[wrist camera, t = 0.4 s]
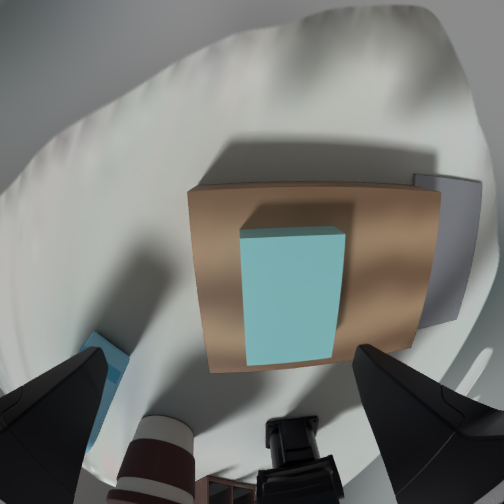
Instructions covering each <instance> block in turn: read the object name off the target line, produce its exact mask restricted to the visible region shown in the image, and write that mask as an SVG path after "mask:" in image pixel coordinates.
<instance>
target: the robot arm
mask: <svg viewBox="0 0 504 504" xmlns="http://www.w3.org/2000/svg"><path fill="white" fill-rule="evenodd" d="M352 367H353V371H354V375H355V379H356V383H357V386H358V390H359V394H360V398H361V402H362V405H363V407H364V410H365V413H366V415H367V418H368V420H369V423H370V426H371V428H372V431H373V434H374V436H375V439H376V442H377V444H378V447H379V450H380V453H381V456H382V458H383V461H384V464H385V467H386V470H387V472H388V476H389V479H390V481H391V484H392V487H393V491H394V494H395V496H396V500H397V503H398V504H504V411H502V410H497V409H494V408H492V407H489V406H487V405H484V404H482V403H479V402H477V401H475V400H472V399H470V398H468V397H465V396H463V395H461V394H459V393H457V392H455V391H453V390H451V389H449V388H447V387H446V386H444V385H441V384H440V383H438V382H436V381H434V380H433V379H431V378H429V377H427V376H425V375H424V374H422V373H420V372H418V371H416V370H415V369H413V368H411V367H409V366H408V365H406V364H404V363H402V362H400V361H399V360H397V359H395V358H393V357H392V356H390V355H388V354H386V353H385V352H383V351H381V350H379V349H378V348H376V347H374V346H372V345H371V344H368V343H367V344H360V345H358V346H357V348H356V351H355V355H354V359H353V363H352ZM107 374H108V363H107V360H106V357H105V354H104V352H103V349H102V348H101V347H97V346H90V347H88V348H87V349H85V350H83V351H81V352H80V353H78V354H76V355H74V356H73V357H71V358H69V359H68V360H66V361H64V362H62V363H61V364H59V365H57V366H55V367H54V368H52V369H50V370H48V371H47V372H45V373H43V374H42V375H40V376H38V377H36V378H35V379H33V380H31V381H29V382H28V383H26V384H24V385H23V386H21V387H19V388H17V389H15V390H14V391H12V392H10V393H8V394H6V395H4V396H2V397H1V398H0V504H73V501H74V497H75V495H74V494H75V491H76V487H77V483H78V479H79V474H80V470H81V467H82V463H83V459H84V455H85V452H86V448H87V445H88V441H89V438H90V435H91V431H92V428H93V425H94V422H95V419H96V416H97V413H98V410H99V407H100V403H101V399H102V395H103V391H104V386H105V382H106V378H107ZM318 421H319V419H318V417H317V416H313V417H306V418H299V419H291V420H281V421H271V422H267V423H266V448H268V449H270V450H271V458H272V466H273V469H268V470H259V471H258V476H257V491H256V496H255V500H254V502H255V504H340V503H339V500H340V499H344V492H343V487H342V483H341V480H340V476H339V473H338V470H337V467H336V464H335V461H334V458H333V455H328V456H327V457H323V458H320V455H319V451H318V447H317V443H316V439H315V433H316V429H317V425H318Z"/></svg>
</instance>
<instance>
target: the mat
mask: <svg viewBox="0 0 504 504" xmlns="http://www.w3.org/2000/svg"><path fill="white" fill-rule="evenodd" d="M413 185H414V186H418V187H422V188H427V189H431V190H435V191H439V192H442V193H441V206H440V217H439V226H438V233H437V241H436V247H435V253H434V259H433V265H432V270H431V275H430V280H429V284H428V289H427V293H426V297H425V302H424V305H423V309H422V313H421V317H420V320H419V324H418V327H417V329H421V328H425V327H429V326H433V325H437V324H441V323H445V322H449V321H452V320H456V319H457V317H458V314H459V310H460V307H461V304H462V300H463V297H464V293H465V290H466V286H467V282H468V278H469V274H470V269H471V265H472V260H473V255H474V250H475V245H476V239H477V232H478V225H479V218H480V209H481V198H482V183H476V182H470V181H464V180H457V179H451V178H443V177H435V176H427V175H418V174H414V182H413Z"/></svg>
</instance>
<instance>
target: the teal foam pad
mask: <svg viewBox="0 0 504 504" xmlns="http://www.w3.org/2000/svg"><path fill="white" fill-rule="evenodd" d="M239 231H240V254H241V274H242V292H243V310H244V327H245V344H246V360H247V366H251V365H267V364H279V363H290V362H300V361H309V360H317V359H325V358H331V357H332V351H333V344H334V338H335V331H336V325H337V317H338V310H339V301H340V293H341V284H342V274H343V262H344V250H345V235H346V234H344V233H343V232H342V231H340V230H339V229H338V228H336V227H335V226H316V227H287V228H262V229H240V230H239Z"/></svg>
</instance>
